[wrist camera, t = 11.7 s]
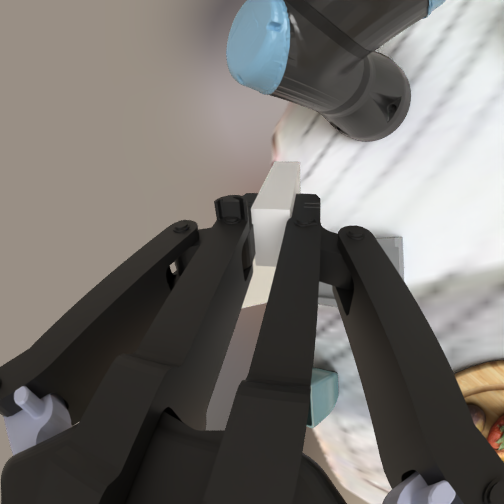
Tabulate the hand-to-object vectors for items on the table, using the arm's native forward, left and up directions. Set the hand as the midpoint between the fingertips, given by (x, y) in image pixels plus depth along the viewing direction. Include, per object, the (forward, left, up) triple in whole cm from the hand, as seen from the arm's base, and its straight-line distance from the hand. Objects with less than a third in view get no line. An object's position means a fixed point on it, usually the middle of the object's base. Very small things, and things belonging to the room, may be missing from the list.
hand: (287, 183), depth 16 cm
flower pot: (+30, -18, -25) cm, 43 cm away
